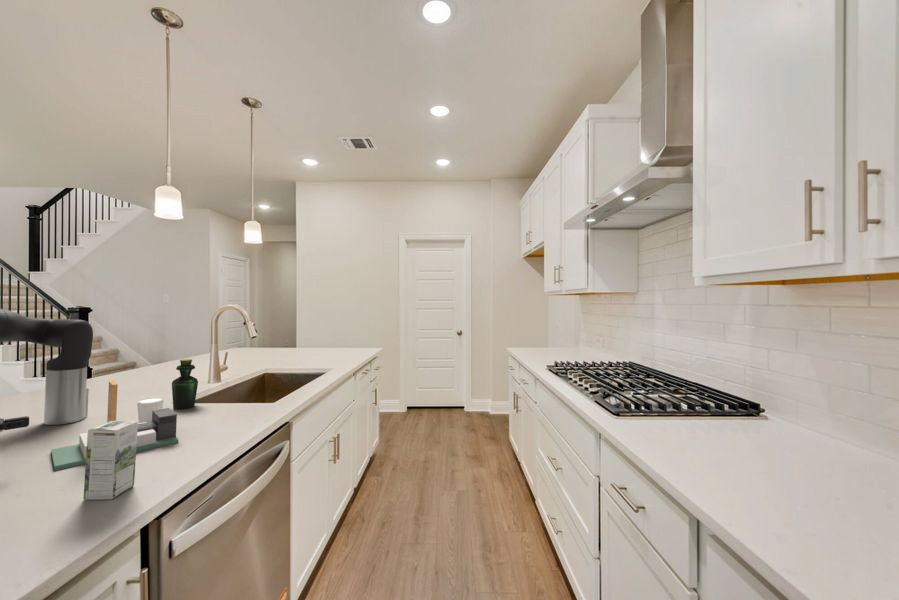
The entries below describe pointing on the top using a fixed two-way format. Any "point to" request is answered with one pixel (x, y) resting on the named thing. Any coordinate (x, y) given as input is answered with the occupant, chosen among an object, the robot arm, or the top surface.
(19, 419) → the robot arm
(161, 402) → the white cup
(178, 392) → the potion bottle
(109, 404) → the wooden l-shaped piece
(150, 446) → the heatsink board
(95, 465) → the syrup box
